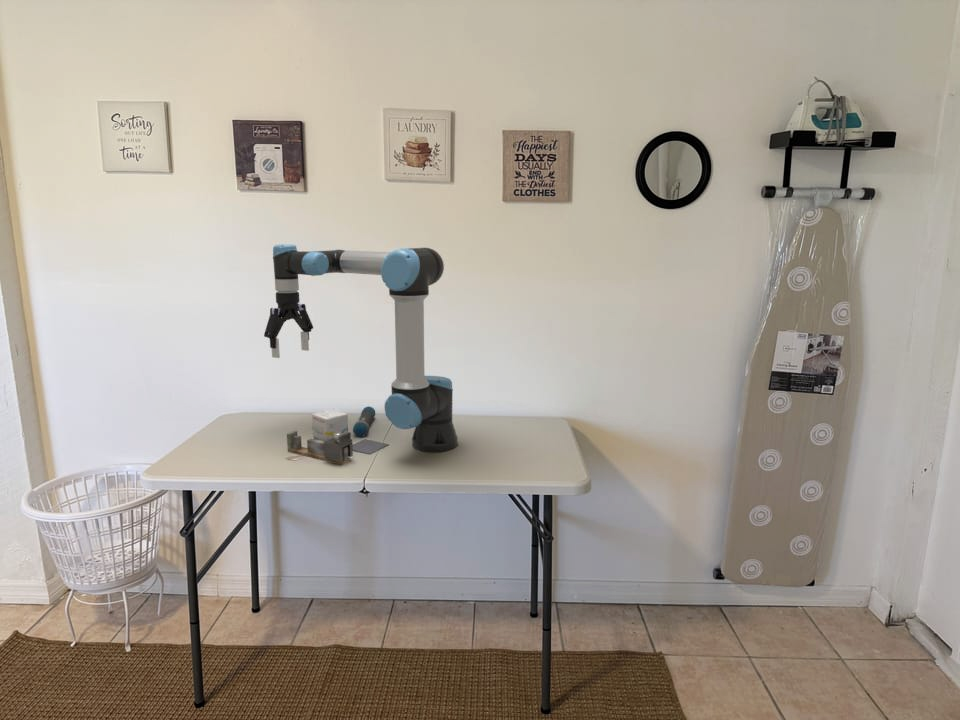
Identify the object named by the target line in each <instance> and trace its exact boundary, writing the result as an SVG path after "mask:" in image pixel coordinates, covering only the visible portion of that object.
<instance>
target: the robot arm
mask: <svg viewBox="0 0 960 720" xmlns="http://www.w3.org/2000/svg"><path fill="white" fill-rule="evenodd" d="M272 252H273V253H272V260H273V272H274V285H275V286H274V288H275V289H274V290H275V291H276V293H275V302H276V303H277V307H271V308H270V309H269V311H270V312H269V316H268V317H269V318H268V321H267V324H266V327H265V330H264V334H263V337H264V338H268V339H269V347H270V349H271V357H272V358H276V359H280V358H281V356H280V354H281V353H280V343H279V341H280V340H279V338H278V336H279V333H280V332H281V330H282V328H283V326H284V324H285V322H287V321H288V320H294V322H295V323H296V324H297V325H298V326H299V328H300V329H301V330H302V331H300V343H301V345H300V346H301V351H307V352H308V351H310V349H309V347H310V345H309V341H310V332H311V333H312V330H313V329H314V325H313V322H312V320H311V318H310V316H309V314H308V311H307V309H306V308H307V306H306V304H305V303H300V293H299V290H300V286H299V282H300V281H299V275H303V276H312V277H314V276H323V275H325V274H332V273H333V274H335V273H339V274H356V275H357V274H358V275H372V276H373V275H374V276H381V279H382V282H383V283H384V285H385V286H386V287H387V288H388V293H389V294H388V295H389V296H390V297H391V298H392V299H393V301H394V327H395V328H394V332H395V335H394V336H395V337H394V338H395V372H396V374H395V380H394V381H392V382H391V394H390V395H389V396H388V397H387V399H386V400H385V402H384V412H385V416H386V417H387V419H388V421H389V422H390V423H391V424H392V425H393V426H394V427H395V428H398V429H401V430H411V429H412V428H414V431H413V435H412V438H411V445H412V447H413V448H414V449H416V450H418V451H422V452H430V453H431V452H432V453H436V452H437V453H439V452H446V451H450V450H452V449H454V448H456V447H458V444H459V443H458V435H457V431H456V428H455V426H454V422H453V390H454V389H453V381H452V380H451V379H450V378H448V377H445V376H441V375H425V310H424V309H425V307H424V305H425V303H424V301H425V300H426V298H427V297H428V296H429V295H430V293H429V289H430V288H429V287H430V286H432V285H434V284H437V282H438V281H439V280H440V279H441V278H442V276H443V274H444V270H445V264H444V260H443V257H442V256H441V255H440V253H438V252H437V251H436V250H435V249H433V248H430V247H415V248H414V247H412V248H411V247H409V248H407V247H405V248H404V247H403V248H398V249H396V250H393V251H370V250H369V251H368V250H365V251H363V250H344V249H334V250H318V251H317V250H315V251H314V250H313V251H304V250H303V251H299V250H297V245H296V244H275V245H274V246H273V248H272Z"/></svg>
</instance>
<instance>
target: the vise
mask: <svg viewBox="0 0 960 720" xmlns="http://www.w3.org/2000/svg"><path fill="white" fill-rule="evenodd" d="M286 442H287V443H286V444H287V452H288V453H291V454H292V453H293V454H292V455H289V456H287V457H285V460H289V461H298V460H300V459H302V458H304V457H308V458H312V459H317V460H321V461H324V462H325V461H326V462H329V463H332V464H333V463H334V464H337V465H341V466H343V465H345V464H347V463H350V462H351V457H348V447H347V446H345V447H343V448H342V457H343V461H341V462H337V461H333V460H329V459H325V453H324V441H320V440H315V439H313V438H308V439H307V440H306V444H307V445H306V446H307V447H304V446H302V443H303V442H302V436H301V435H298V431H297V430H293V431H291V432H288V433H286Z"/></svg>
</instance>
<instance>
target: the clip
mask: <svg viewBox="0 0 960 720" xmlns="http://www.w3.org/2000/svg"><path fill="white" fill-rule="evenodd" d="M352 445H353V439H352V432H351V431H348V433H345V434H343V435H342V432H335V433H334V438H332V439H329V440H327V441H325V442H324V453H325V459H329V460H333V461H337V462H341V461H343V457H342V448H343V447H345V446H347V447H348V458H352V457H353V456H354V451H353V446H352Z"/></svg>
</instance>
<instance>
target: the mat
mask: <svg viewBox="0 0 960 720" xmlns="http://www.w3.org/2000/svg"><path fill="white" fill-rule="evenodd" d="M352 446H353V452H357V453H362V454H366V455H372V454H375V453H376V452H378V451H380V450H382V449H384V448H386V447H387V446H389V443H386V442H381V441H375V440H371V439H367V438H364V439H362V440H359V441H358V442H355V443H352Z"/></svg>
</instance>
